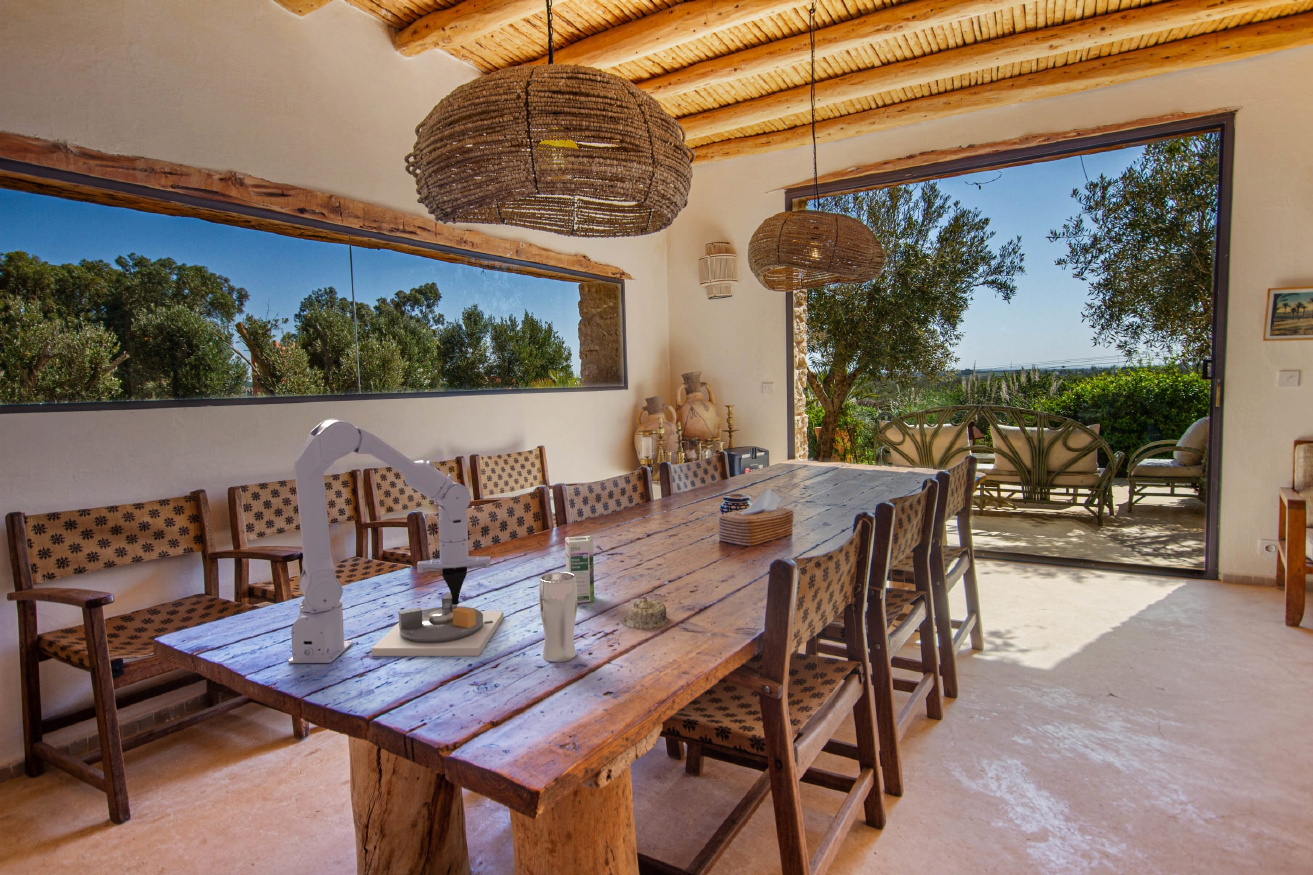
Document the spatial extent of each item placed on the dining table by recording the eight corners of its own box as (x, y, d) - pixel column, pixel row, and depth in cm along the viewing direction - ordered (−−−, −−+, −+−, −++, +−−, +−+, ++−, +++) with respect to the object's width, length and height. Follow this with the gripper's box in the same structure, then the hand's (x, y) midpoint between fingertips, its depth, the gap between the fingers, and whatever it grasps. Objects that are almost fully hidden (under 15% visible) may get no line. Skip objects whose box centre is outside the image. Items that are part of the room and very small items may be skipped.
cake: (669, 616, 151) (671, 592, 150) (666, 634, 141) (668, 608, 141) (624, 611, 152) (626, 588, 151) (618, 629, 142) (620, 604, 141)
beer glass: (560, 645, 133) (559, 569, 132) (586, 654, 129) (584, 575, 127) (532, 656, 128) (530, 577, 127) (558, 666, 124) (556, 584, 122)
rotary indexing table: (473, 642, 131) (472, 618, 130) (387, 643, 130) (386, 619, 130) (490, 612, 147) (490, 591, 146) (414, 614, 146) (413, 592, 146)
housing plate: (479, 655, 129) (478, 646, 128) (371, 655, 129) (371, 647, 129) (503, 617, 148) (503, 610, 148) (410, 618, 149) (410, 610, 149)
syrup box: (569, 604, 157) (568, 541, 155) (565, 596, 162) (564, 535, 161) (594, 602, 158) (593, 540, 157) (590, 594, 164) (589, 534, 163)
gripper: (489, 532, 149) (491, 594, 150) (418, 537, 145) (420, 600, 147) (489, 540, 142) (491, 604, 143) (415, 545, 139) (418, 611, 140)
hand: (455, 603), depth 145 cm, fingers closed, pressing on rotary indexing table
